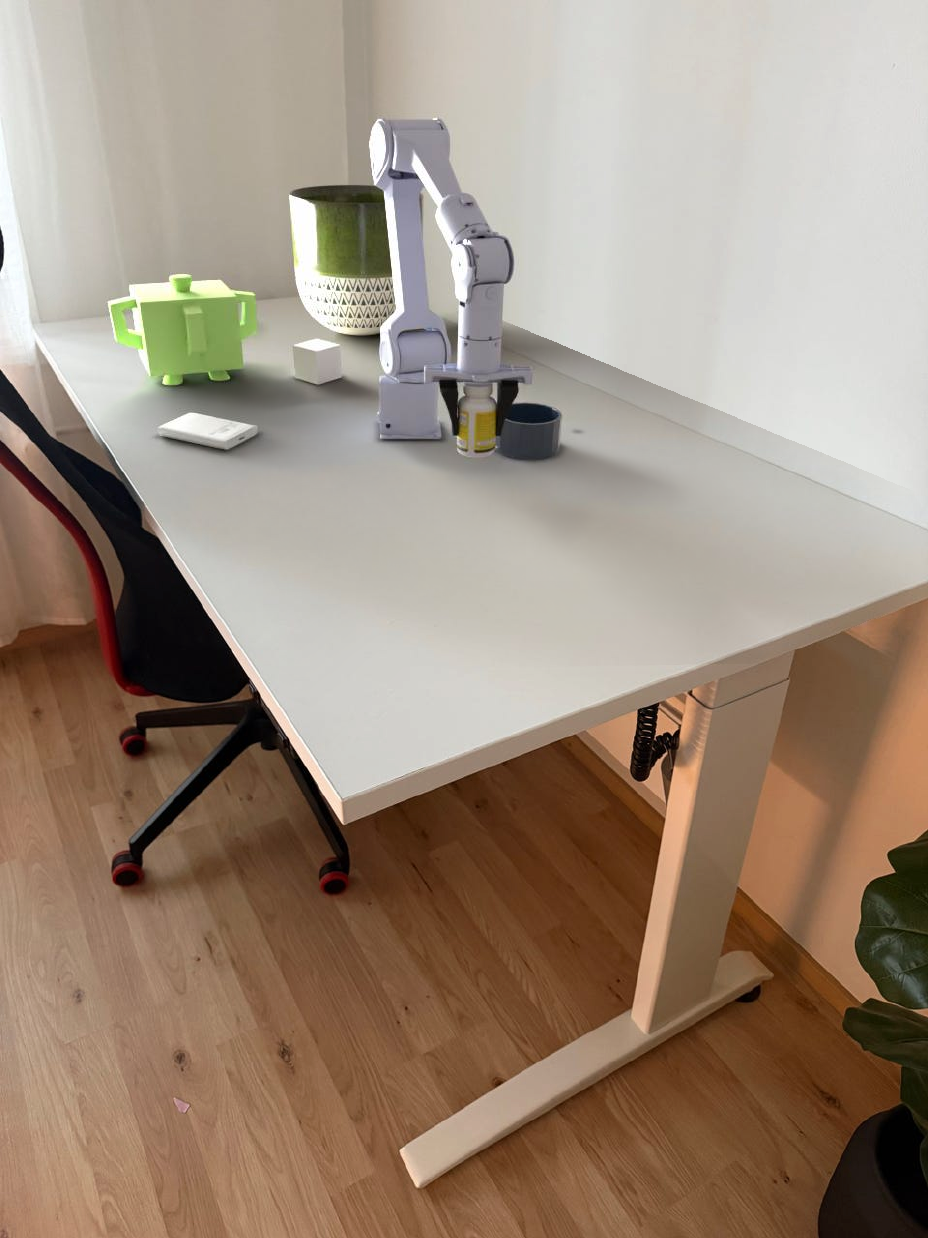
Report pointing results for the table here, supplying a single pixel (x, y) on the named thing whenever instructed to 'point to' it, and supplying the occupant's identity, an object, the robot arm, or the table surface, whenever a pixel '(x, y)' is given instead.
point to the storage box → (186, 327)
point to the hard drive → (208, 431)
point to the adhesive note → (317, 361)
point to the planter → (344, 256)
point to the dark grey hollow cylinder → (530, 432)
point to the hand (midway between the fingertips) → (476, 433)
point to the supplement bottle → (477, 420)
